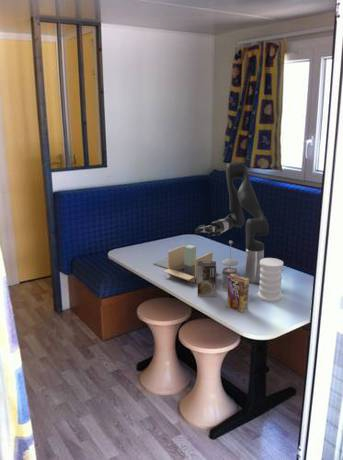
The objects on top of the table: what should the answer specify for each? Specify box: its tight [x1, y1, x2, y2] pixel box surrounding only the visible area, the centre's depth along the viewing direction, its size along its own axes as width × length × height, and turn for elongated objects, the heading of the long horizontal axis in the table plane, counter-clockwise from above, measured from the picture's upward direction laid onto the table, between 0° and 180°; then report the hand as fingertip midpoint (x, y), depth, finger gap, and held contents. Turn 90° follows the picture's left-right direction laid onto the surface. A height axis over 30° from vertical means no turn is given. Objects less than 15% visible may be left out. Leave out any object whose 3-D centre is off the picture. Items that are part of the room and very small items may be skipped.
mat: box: [152, 257, 168, 270], centre depth 258 cm, size 12×12×1 cm
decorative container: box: [256, 257, 284, 303], centre depth 212 cm, size 12×12×18 cm
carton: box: [162, 244, 218, 284], centre depth 240 cm, size 19×24×13 cm
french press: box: [219, 240, 239, 293], centre depth 221 cm, size 10×12×25 cm
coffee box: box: [196, 260, 217, 298], centre depth 216 cm, size 9×6×16 cm
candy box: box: [226, 274, 250, 313], centre depth 201 cm, size 9×4×15 cm, turn 47°
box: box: [183, 244, 197, 276], centre depth 240 cm, size 4×4×16 cm
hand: (201, 233), depth 243 cm, fingers open, 8 cm apart
